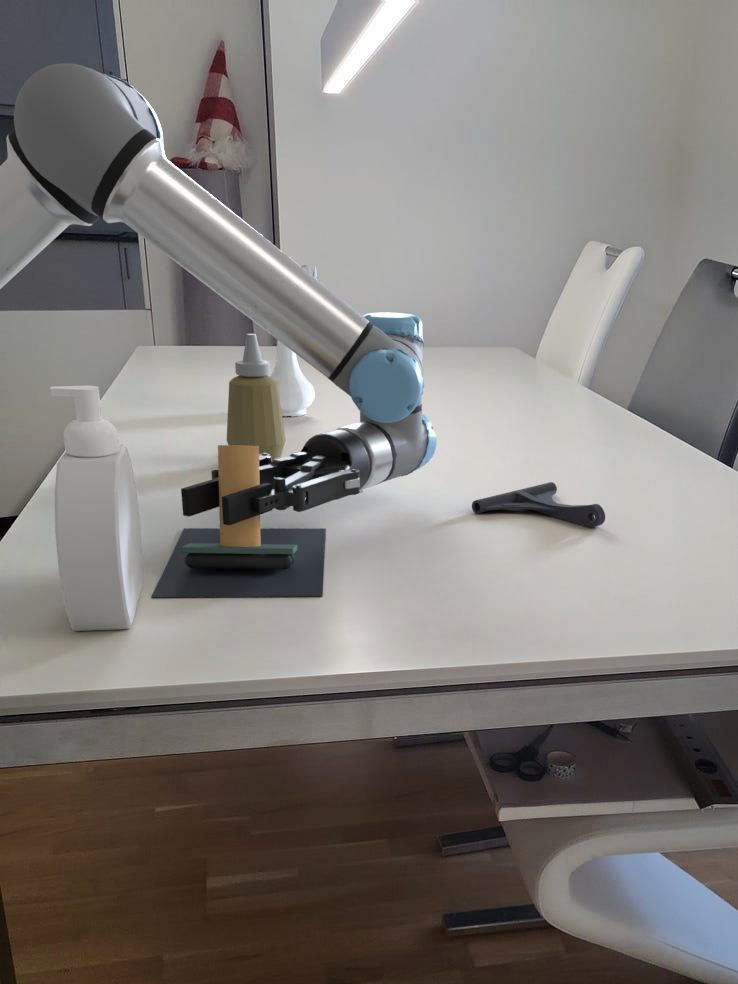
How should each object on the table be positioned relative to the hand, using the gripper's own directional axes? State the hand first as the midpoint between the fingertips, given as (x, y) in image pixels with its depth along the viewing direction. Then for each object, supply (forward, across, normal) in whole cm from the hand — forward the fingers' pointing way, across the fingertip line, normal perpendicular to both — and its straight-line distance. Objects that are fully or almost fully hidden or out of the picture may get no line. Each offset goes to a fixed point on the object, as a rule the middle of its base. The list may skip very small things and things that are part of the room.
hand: (205, 506), depth 100 cm
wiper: (-4, -1, -7) cm, 8 cm away
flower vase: (-72, +46, -8) cm, 85 cm away
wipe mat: (-7, +1, -8) cm, 10 cm away
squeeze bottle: (-39, +26, -8) cm, 48 cm away
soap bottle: (+11, +3, -8) cm, 14 cm away
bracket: (-41, -19, -8) cm, 46 cm away
